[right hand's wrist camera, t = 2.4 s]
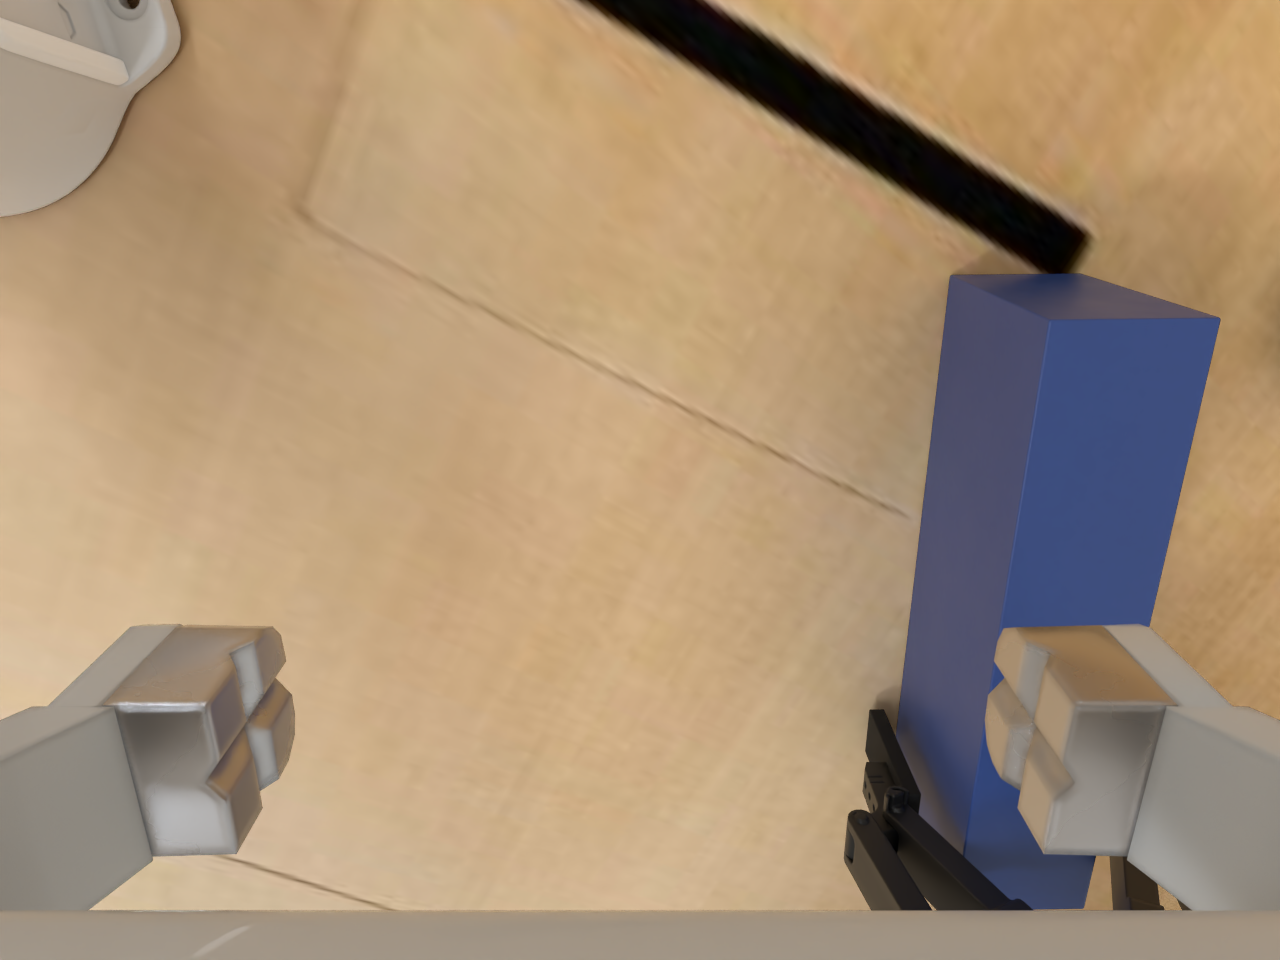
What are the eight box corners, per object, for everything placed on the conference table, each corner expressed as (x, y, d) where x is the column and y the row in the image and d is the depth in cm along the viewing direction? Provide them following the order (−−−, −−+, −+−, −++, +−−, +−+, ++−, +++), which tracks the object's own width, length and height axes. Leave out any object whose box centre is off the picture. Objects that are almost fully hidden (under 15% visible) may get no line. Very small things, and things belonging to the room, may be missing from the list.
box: (949, 274, 40) (1049, 319, 30) (1081, 273, 40) (1222, 317, 31) (892, 763, 50) (953, 911, 40) (997, 761, 50) (1084, 909, 40)
